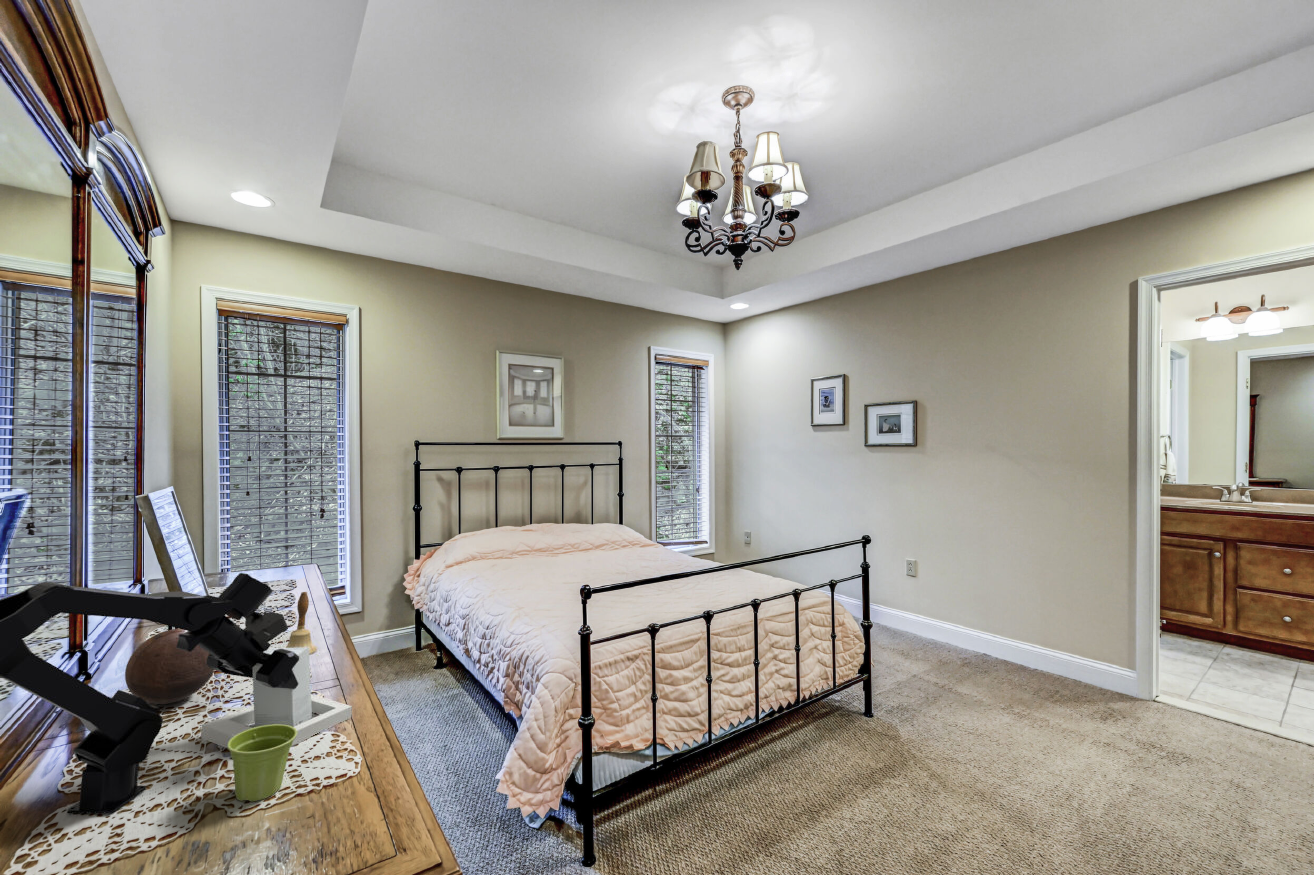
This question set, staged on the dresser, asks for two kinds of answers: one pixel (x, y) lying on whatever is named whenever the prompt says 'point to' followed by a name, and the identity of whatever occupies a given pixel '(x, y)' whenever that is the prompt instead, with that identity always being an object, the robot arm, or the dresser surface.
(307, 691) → the skincare box
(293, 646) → the hand bell
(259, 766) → the plant pot
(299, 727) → the white square frame
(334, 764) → the dresser surface
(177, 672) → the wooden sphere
